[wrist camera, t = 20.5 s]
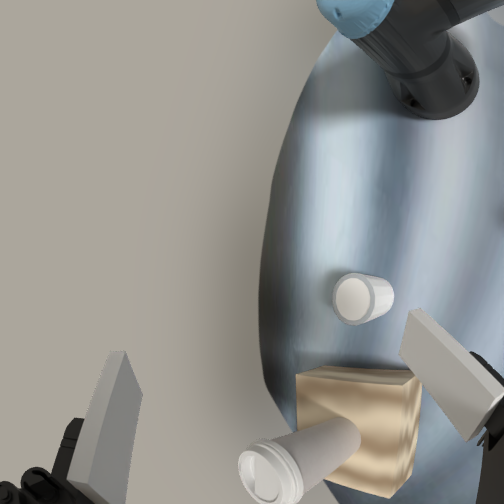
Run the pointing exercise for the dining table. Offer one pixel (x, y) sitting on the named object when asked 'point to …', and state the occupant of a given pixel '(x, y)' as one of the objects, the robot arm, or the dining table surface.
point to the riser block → (366, 421)
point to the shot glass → (361, 298)
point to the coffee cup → (296, 460)
